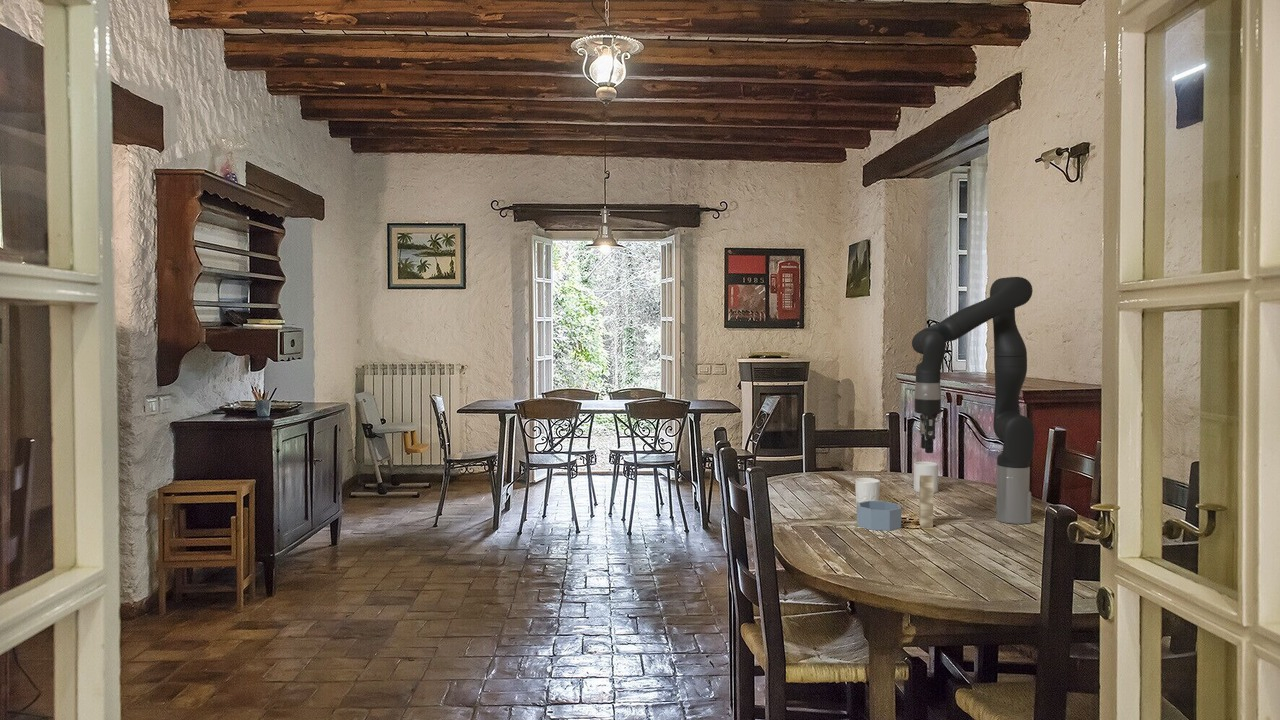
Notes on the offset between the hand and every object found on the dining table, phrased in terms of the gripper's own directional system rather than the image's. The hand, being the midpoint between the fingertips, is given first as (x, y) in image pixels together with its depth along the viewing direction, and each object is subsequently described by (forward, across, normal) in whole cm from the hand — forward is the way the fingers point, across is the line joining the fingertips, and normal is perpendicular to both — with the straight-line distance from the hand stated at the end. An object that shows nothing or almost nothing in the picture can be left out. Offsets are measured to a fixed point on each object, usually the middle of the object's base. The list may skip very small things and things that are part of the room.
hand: (926, 450), depth 241 cm
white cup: (+23, +17, +16) cm, 33 cm away
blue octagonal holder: (+23, -2, +14) cm, 27 cm away
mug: (+23, +52, -7) cm, 57 cm away
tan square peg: (+23, 0, 0) cm, 23 cm away
